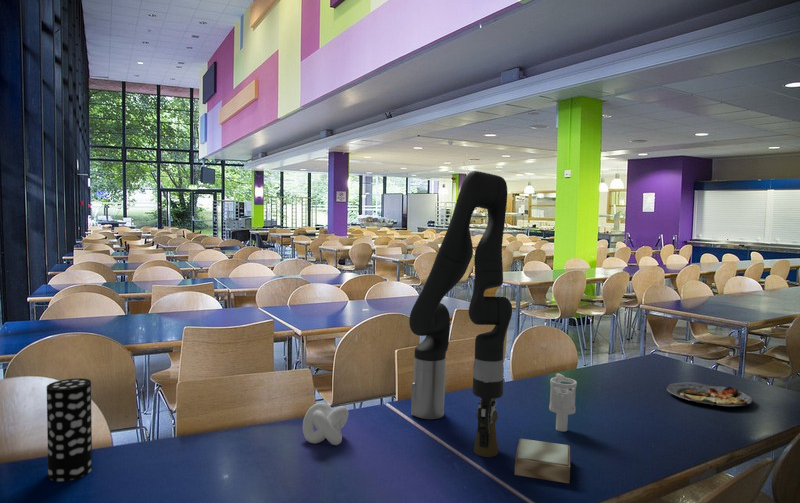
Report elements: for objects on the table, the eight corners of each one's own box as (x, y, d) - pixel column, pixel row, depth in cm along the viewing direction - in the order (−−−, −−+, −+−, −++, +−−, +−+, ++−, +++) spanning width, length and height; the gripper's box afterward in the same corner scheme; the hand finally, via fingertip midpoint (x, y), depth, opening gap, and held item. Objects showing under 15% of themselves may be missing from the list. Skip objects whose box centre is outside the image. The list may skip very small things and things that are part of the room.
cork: (497, 458, 130) (499, 414, 129) (472, 455, 131) (474, 411, 130) (498, 448, 136) (499, 405, 135) (474, 445, 137) (475, 403, 136)
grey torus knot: (331, 427, 147) (332, 395, 146) (360, 441, 138) (360, 407, 138) (297, 438, 139) (297, 405, 138) (324, 453, 130) (325, 418, 130)
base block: (514, 474, 122) (515, 457, 121) (519, 453, 133) (519, 437, 133) (569, 483, 118) (570, 466, 118) (569, 460, 129) (569, 444, 129)
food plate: (752, 396, 182) (752, 386, 182) (754, 417, 162) (754, 406, 162) (670, 384, 195) (671, 375, 195) (663, 403, 176) (663, 392, 176)
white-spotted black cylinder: (61, 464, 122) (59, 378, 121) (98, 463, 123) (98, 378, 121) (39, 481, 114) (38, 390, 112) (80, 481, 114) (79, 389, 113)
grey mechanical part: (567, 423, 153) (569, 372, 152) (579, 433, 146) (581, 380, 145) (544, 425, 152) (546, 373, 151) (555, 434, 145) (557, 380, 144)
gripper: (477, 367, 140) (476, 428, 141) (468, 382, 127) (466, 450, 128) (506, 370, 138) (504, 432, 139) (500, 386, 124) (497, 454, 125)
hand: (486, 440), depth 133 cm, fingers open, 7 cm apart
